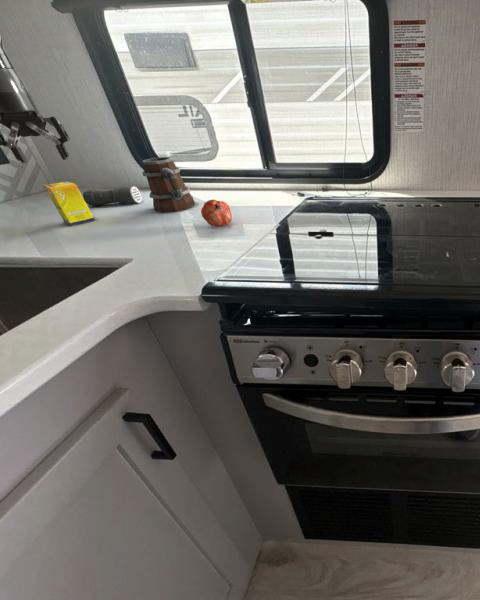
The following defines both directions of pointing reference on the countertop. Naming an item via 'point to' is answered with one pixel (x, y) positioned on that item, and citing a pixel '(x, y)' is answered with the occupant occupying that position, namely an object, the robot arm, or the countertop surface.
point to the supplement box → (69, 203)
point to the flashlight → (112, 196)
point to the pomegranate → (216, 213)
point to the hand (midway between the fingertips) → (45, 160)
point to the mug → (166, 185)
